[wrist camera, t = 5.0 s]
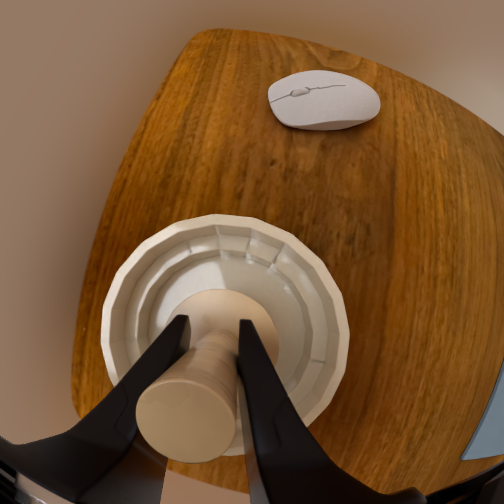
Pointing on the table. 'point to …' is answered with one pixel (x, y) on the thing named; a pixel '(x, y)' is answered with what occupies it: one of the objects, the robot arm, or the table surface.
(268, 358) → the robot arm
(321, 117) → the computer mouse
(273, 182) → the table surface
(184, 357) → the wooden stamp
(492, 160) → the table surface
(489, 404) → the mat
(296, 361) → the bowl
